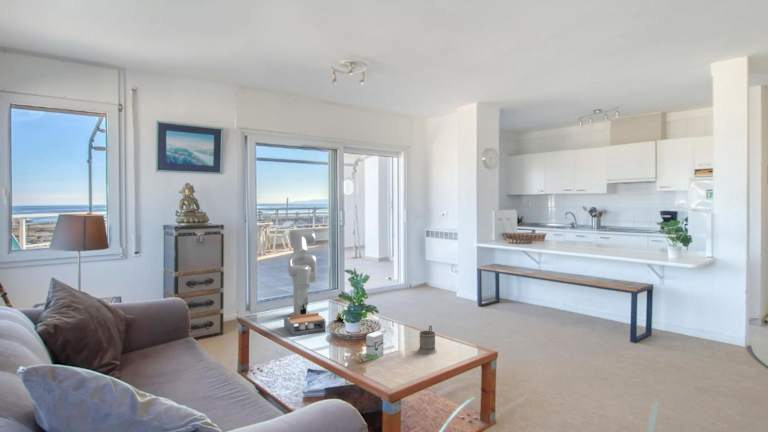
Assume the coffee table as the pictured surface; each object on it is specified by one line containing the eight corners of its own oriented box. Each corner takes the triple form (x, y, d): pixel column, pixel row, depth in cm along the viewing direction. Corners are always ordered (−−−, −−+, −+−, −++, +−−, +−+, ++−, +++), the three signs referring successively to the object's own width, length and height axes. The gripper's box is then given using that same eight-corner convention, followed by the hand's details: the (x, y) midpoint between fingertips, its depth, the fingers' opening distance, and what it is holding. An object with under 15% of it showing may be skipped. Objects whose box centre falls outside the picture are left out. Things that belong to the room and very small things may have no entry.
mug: (434, 355, 217) (434, 332, 216) (415, 353, 220) (415, 330, 220) (440, 346, 230) (440, 324, 230) (423, 344, 234) (422, 322, 233)
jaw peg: (297, 332, 256) (297, 322, 256) (303, 331, 259) (303, 321, 259) (300, 334, 253) (300, 324, 253) (306, 333, 255) (306, 323, 255)
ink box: (373, 360, 210) (373, 336, 210) (365, 358, 213) (365, 335, 213) (383, 355, 217) (383, 332, 217) (376, 353, 220) (376, 331, 220)
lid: (287, 320, 259) (287, 316, 259) (319, 316, 268) (319, 312, 268) (291, 324, 250) (291, 320, 250) (324, 320, 259) (324, 316, 259)
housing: (284, 326, 269) (283, 316, 269) (315, 322, 278) (315, 312, 277) (292, 336, 248) (292, 325, 248) (325, 332, 257) (325, 321, 257)
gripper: (294, 284, 270) (294, 313, 270) (300, 289, 256) (300, 319, 256) (305, 283, 273) (306, 312, 273) (312, 287, 259) (312, 317, 260)
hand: (303, 315), depth 265 cm, fingers closed
